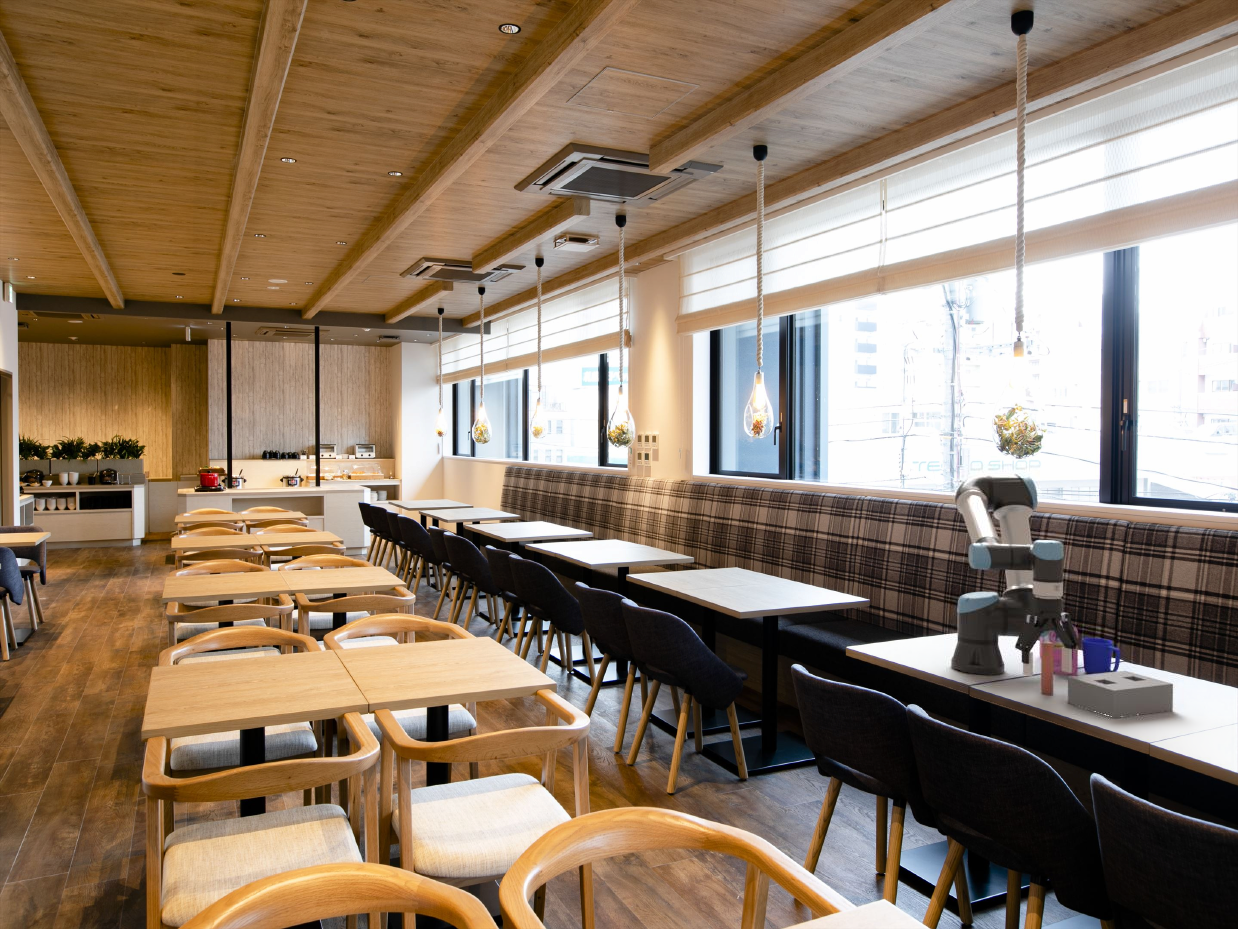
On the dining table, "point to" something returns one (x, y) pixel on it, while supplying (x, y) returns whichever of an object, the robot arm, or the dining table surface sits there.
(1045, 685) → the pin
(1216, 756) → the dining table surface
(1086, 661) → the mug
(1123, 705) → the hole block
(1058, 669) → the gum box
